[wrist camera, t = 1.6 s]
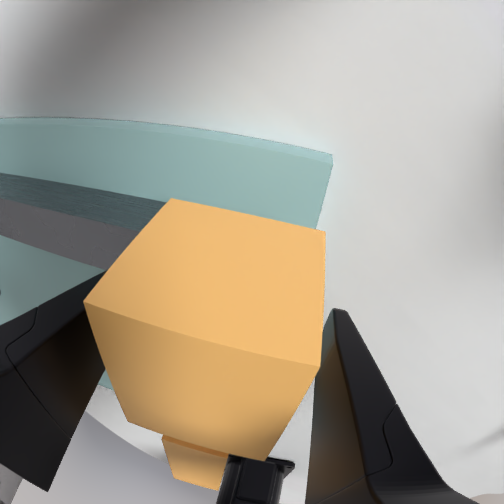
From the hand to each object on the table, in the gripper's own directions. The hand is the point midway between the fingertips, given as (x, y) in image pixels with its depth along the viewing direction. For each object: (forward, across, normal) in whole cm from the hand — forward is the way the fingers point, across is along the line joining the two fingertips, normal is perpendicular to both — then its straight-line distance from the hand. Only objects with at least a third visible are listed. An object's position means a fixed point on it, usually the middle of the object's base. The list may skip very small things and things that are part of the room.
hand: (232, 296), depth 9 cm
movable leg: (+2, 0, +3) cm, 4 cm away
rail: (+4, +10, 0) cm, 10 cm away
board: (+4, +10, +6) cm, 12 cm away
